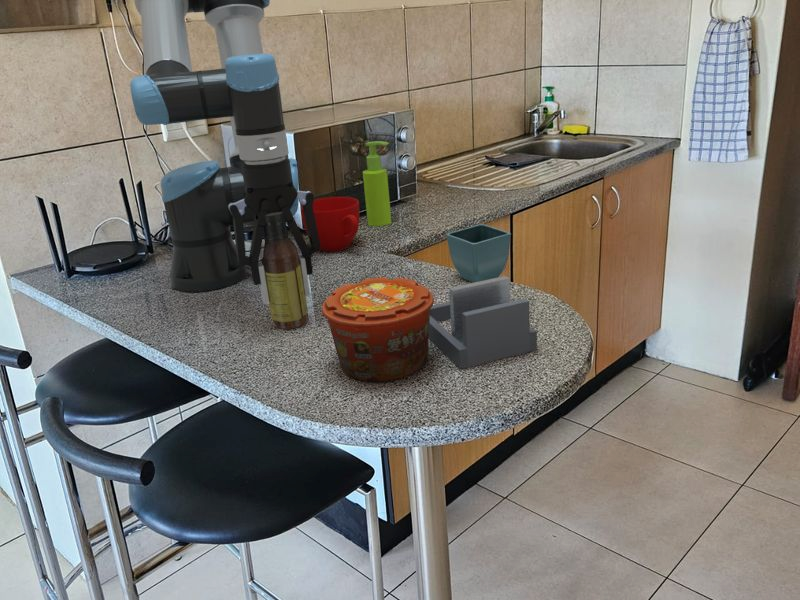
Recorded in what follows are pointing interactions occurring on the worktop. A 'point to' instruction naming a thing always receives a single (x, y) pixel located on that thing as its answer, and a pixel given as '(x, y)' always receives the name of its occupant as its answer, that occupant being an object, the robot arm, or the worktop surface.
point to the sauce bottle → (283, 275)
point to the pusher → (476, 299)
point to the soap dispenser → (376, 188)
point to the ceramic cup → (335, 221)
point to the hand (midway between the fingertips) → (286, 297)
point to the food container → (380, 328)
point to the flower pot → (479, 252)
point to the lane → (485, 333)
